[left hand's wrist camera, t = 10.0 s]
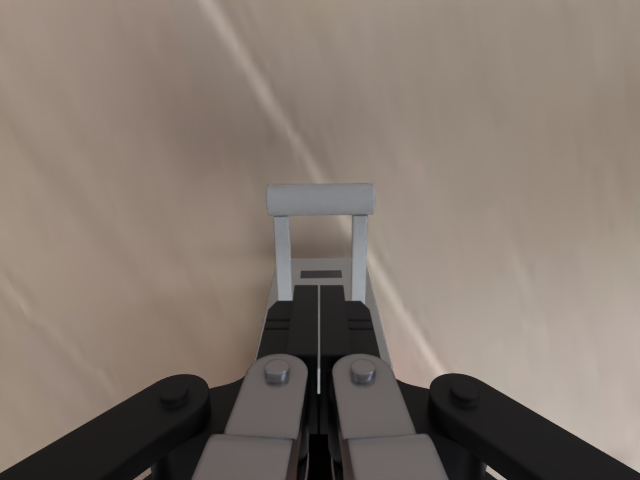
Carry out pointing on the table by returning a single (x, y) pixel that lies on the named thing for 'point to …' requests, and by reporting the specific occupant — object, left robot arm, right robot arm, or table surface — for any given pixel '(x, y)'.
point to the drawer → (323, 270)
